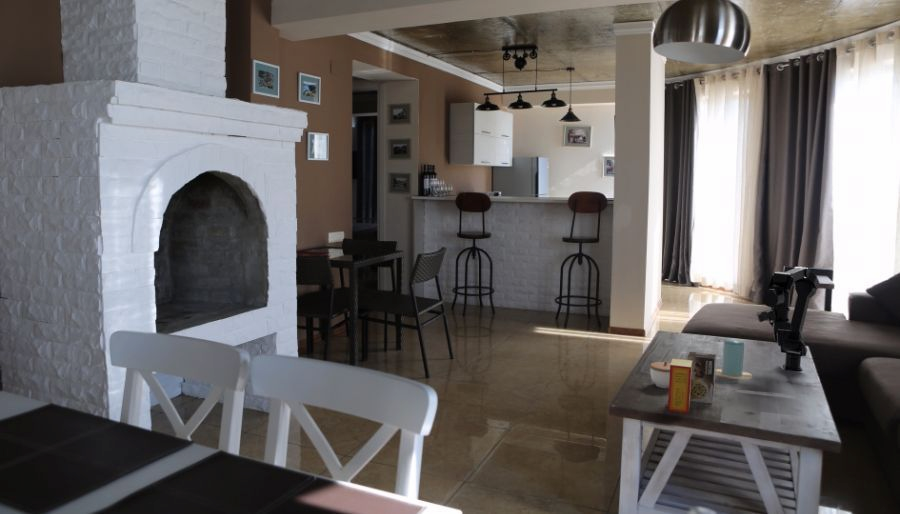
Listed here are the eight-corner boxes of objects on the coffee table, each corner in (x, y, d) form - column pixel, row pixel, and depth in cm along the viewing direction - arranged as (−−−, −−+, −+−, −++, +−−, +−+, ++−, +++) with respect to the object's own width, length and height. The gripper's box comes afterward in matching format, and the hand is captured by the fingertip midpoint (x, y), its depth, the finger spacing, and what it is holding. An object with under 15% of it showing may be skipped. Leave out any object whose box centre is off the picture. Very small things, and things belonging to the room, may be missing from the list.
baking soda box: (669, 402, 240) (672, 357, 239) (689, 405, 238) (692, 359, 236) (667, 410, 232) (670, 363, 230) (688, 413, 229) (691, 366, 227)
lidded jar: (681, 391, 254) (682, 366, 253) (650, 388, 256) (651, 364, 255) (677, 382, 264) (678, 358, 263) (648, 380, 266) (649, 356, 265)
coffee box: (714, 399, 245) (717, 354, 243) (712, 404, 239) (715, 358, 237) (687, 395, 249) (689, 351, 247) (684, 400, 243) (687, 355, 241)
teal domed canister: (725, 370, 278) (727, 338, 277) (744, 373, 274) (746, 341, 272) (719, 374, 273) (721, 341, 271) (738, 377, 268) (740, 344, 267)
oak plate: (710, 370, 283) (710, 367, 283) (750, 373, 278) (750, 370, 278) (712, 380, 268) (712, 377, 268) (754, 384, 264) (754, 381, 264)
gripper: (755, 299, 285) (753, 336, 286) (761, 306, 267) (758, 346, 269) (785, 301, 281) (783, 338, 283) (793, 308, 264) (790, 349, 265)
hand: (778, 343), depth 275 cm, fingers open, 9 cm apart
